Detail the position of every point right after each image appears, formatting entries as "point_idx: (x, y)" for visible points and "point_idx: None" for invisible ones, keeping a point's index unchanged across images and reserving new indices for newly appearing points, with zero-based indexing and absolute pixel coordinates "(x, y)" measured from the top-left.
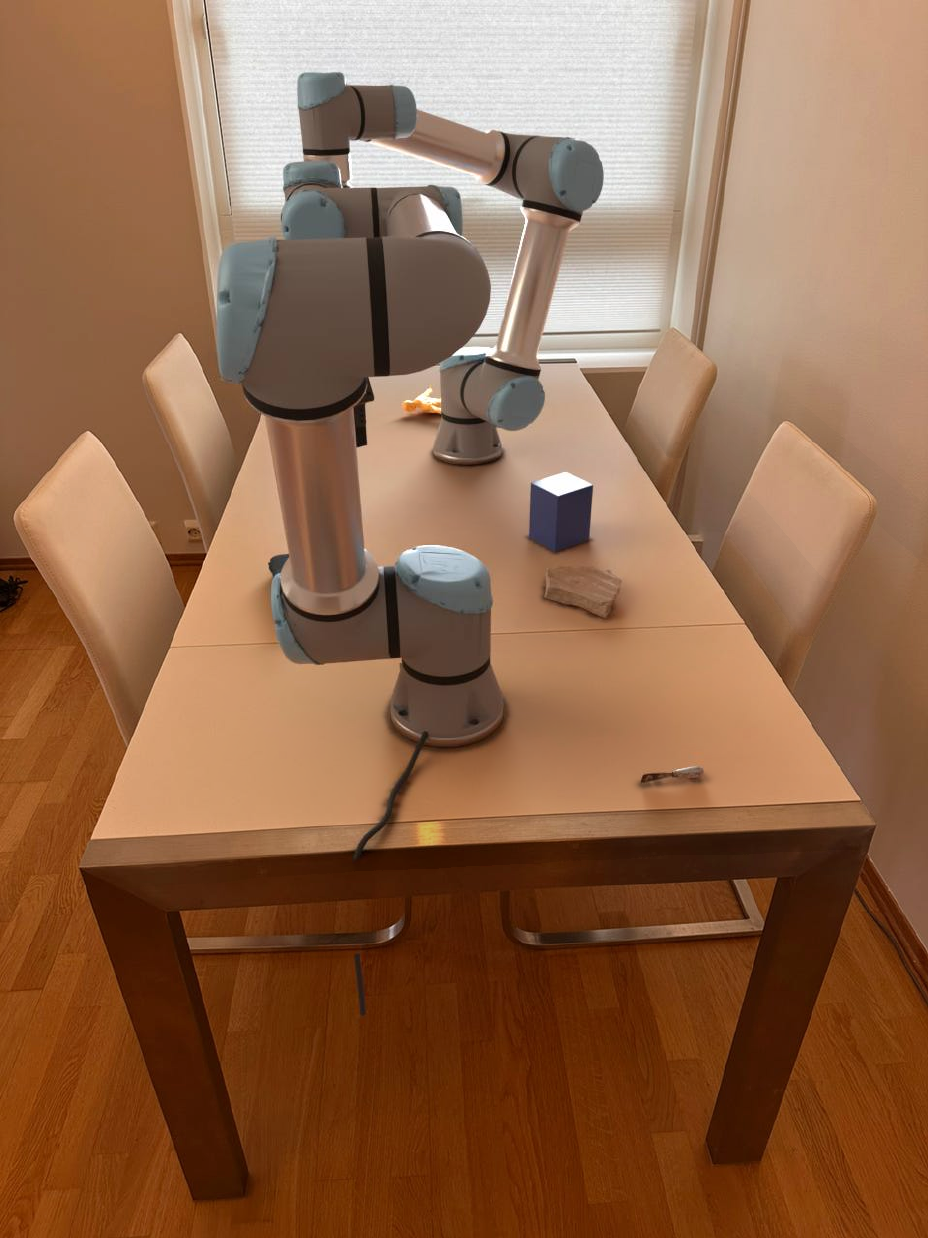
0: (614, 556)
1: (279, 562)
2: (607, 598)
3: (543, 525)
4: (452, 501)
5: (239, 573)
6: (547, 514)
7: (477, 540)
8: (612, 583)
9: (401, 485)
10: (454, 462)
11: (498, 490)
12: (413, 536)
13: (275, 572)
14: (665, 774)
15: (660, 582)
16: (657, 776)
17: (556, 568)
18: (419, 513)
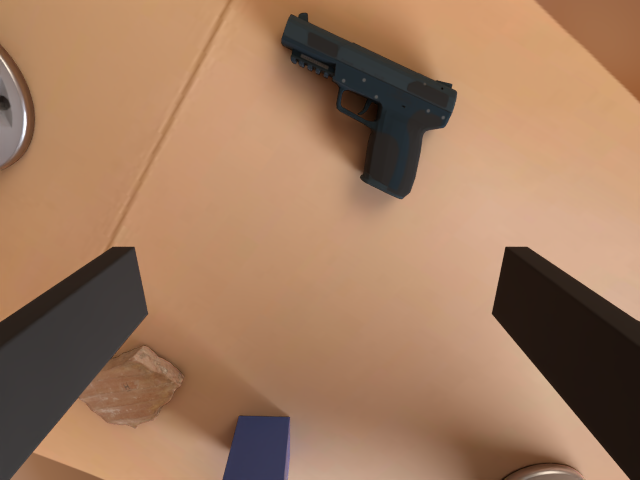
0: (193, 451)
1: (427, 95)
2: None
3: (257, 440)
4: (437, 409)
5: (487, 42)
6: (247, 457)
7: (323, 371)
8: (106, 412)
9: (531, 390)
10: (524, 470)
11: (419, 461)
12: (390, 320)
13: (403, 71)
14: None
15: (118, 448)
16: None
17: (171, 390)
18: (441, 362)
